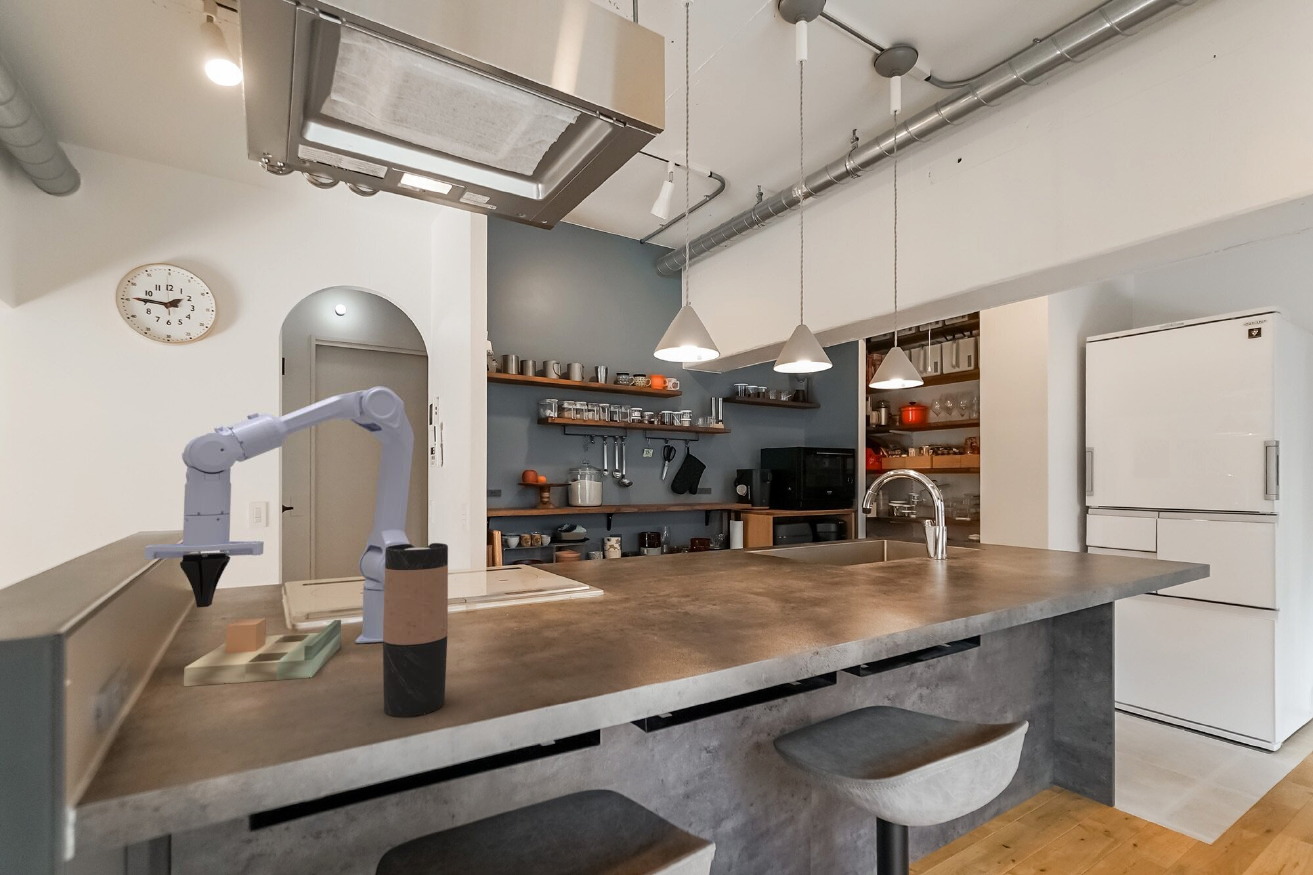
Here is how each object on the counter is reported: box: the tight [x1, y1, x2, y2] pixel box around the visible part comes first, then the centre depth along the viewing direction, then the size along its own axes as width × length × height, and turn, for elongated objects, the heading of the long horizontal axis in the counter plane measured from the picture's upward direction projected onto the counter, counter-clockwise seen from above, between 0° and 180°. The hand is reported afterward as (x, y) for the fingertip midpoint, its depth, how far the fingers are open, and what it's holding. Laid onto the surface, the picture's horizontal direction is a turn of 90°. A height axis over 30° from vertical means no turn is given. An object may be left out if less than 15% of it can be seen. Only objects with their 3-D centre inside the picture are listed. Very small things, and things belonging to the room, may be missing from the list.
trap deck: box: [183, 619, 342, 687], centre depth 97 cm, size 16×16×4 cm
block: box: [225, 617, 267, 653], centre depth 97 cm, size 4×4×4 cm
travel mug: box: [382, 542, 449, 718], centre depth 80 cm, size 8×8×20 cm
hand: (204, 605), depth 95 cm, fingers closed
